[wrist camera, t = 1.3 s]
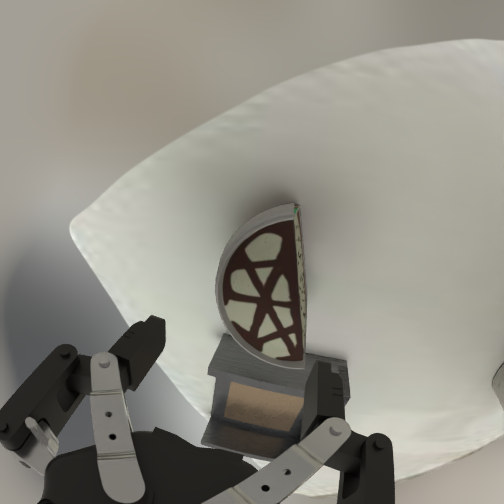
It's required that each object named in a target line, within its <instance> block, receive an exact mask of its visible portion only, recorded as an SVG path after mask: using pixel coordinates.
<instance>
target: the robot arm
mask: <svg viewBox="0 0 504 504" xmlns="http://www.w3.org/2000/svg"><path fill="white" fill-rule="evenodd" d="M165 342H166V330H165V319H162V318H159V317H156V316H153V315H151V316H150V317H149V318H148V319H147V320H146V321H145V322H143V321H139V322H137V323H135V324H133V325H132V326H131V327H130V328H129V329H128V330H127V331H126V332H125V333H124V334H123V336H122V337H121V338H120V339H119V340H118V341H117V342H116V343H115V344H114V345H113V346H112V348H111V349H110V350H109V351H108V352H100V353H97V354H95V355H94V356H93V357H90V356H85V355H80V354H78V352H77V350H76V348H75V347H74V346H72V345H70V344H62V345H60V346H58V347H57V348H55V349H54V350H53V351H52V352H51V354H50V355H49V356H48V357H47V358H46V359H45V360H44V361H43V362H42V363H41V364H40V365H39V366H38V367H37V368H36V370H35V371H34V372H33V373H32V374H31V375H30V376H29V377H28V378H27V379H26V380H25V382H24V383H23V384H22V385H21V386H20V387H19V388H18V390H17V391H16V392H15V393H14V394H13V395H12V397H11V398H10V399H9V400H8V401H7V403H6V404H5V405H4V406H3V407H2V408H1V410H0V442H1V444H2V445H3V446H4V448H5V449H6V450H7V451H9V453H10V454H11V455H12V456H13V457H14V458H16V459H17V460H19V462H21V463H22V464H23V465H24V466H26V467H28V468H32V469H34V470H35V471H37V472H38V473H39V474H41V475H42V476H43V477H44V478H45V479H44V480H45V481H44V490H43V495H42V498H41V500H40V501H39V502H38V503H37V504H280V503H281V502H282V501H283V500H284V499H286V498H287V497H288V496H290V495H291V494H292V493H293V492H294V491H295V490H297V489H298V488H299V487H300V486H301V485H302V484H303V483H305V482H306V481H307V480H308V479H309V478H310V477H311V476H312V475H314V474H315V473H316V472H317V471H318V470H319V469H320V468H321V467H322V466H323V465H325V466H328V467H331V468H333V469H336V470H339V471H340V480H339V490H338V499H337V504H395V482H394V461H393V447H392V442H391V440H390V439H389V438H388V437H387V436H386V435H384V434H381V433H374V434H371V435H370V436H369V437H366V436H363V435H361V434H358V433H355V432H354V431H352V430H351V428H350V426H349V424H348V423H347V422H346V421H345V409H344V397H343V395H344V394H343V382H342V379H341V378H340V376H339V374H338V373H333V372H332V370H331V362H327V361H322V360H316V361H315V363H314V365H313V368H312V370H311V372H310V374H309V377H308V379H307V381H306V385H305V391H304V405H303V418H302V429H301V440H302V441H301V442H300V443H299V444H295V445H293V446H292V447H290V448H289V449H288V450H286V451H285V452H284V453H282V454H281V455H280V456H279V457H277V458H276V459H274V460H273V461H272V462H270V463H269V464H268V465H266V466H265V467H263V468H262V469H261V470H259V471H258V470H257V469H256V468H254V467H253V466H252V465H251V464H249V463H247V462H245V461H243V460H242V459H243V456H244V455H243V454H238V453H234V452H230V451H226V450H223V449H213V448H200V447H196V446H194V445H192V444H190V443H189V442H187V441H185V440H184V439H182V438H180V437H179V436H177V435H175V434H172V433H170V432H168V431H165V430H162V429H159V428H157V427H155V429H154V431H153V432H151V431H136V432H133V429H132V425H131V421H130V417H129V412H128V408H127V403H126V398H125V392H126V390H127V389H130V390H132V391H135V390H136V389H137V387H138V386H139V384H140V383H141V382H142V380H143V379H144V377H145V376H146V374H147V373H148V371H149V370H150V368H151V367H152V365H153V364H154V363H155V361H156V360H157V358H158V357H159V356H160V354H161V353H162V351H163V349H164V347H165ZM492 387H493V389H494V391H495V393H496V395H497V397H498V399H499V401H500V403H501V405H502V408H503V410H504V364H503V365H502V366H501V368H500V369H499V370H498V372H497V374H496V375H495V377H494V380H493V383H492ZM85 395H90V402H91V412H92V421H93V429H94V435H95V442H96V445H92V446H89V447H86V448H82V449H79V450H76V451H72V452H68V453H65V454H61V455H58V456H56V454H57V450H58V447H59V443H58V439H57V436H58V434H59V433H60V431H61V430H62V429H63V427H64V426H65V424H66V423H67V421H68V420H69V418H70V417H71V415H72V414H73V413H74V411H75V410H76V408H77V407H78V405H79V404H80V402H81V401H82V400H83V398H84V397H85Z"/></svg>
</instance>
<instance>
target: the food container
mask: <svg viewBox="0 0 504 504" xmlns="http://www.w3.org/2000/svg"><path fill="white" fill-rule="evenodd" d="M215 294H216V301H217V305H218V310H219V313H220V316H221V319H222V321H223V323H224V325H225V327H226V329H227V330H228V332H229V333H230V335H231V336H232V337H233V339H234V340H235V341H236V342H237V343H238V344H239V345H240V346H241V347H242V348H244V349H245V350H246V351H247V352H249V353H250V354H252V355H253V356H255V357H257V358H258V359H260V360H263V361H265V362H267V363H270V364H273V365H276V366H280V367H284V368H291V369H304V367H305V358H306V356H305V348H306V319H307V287H306V272H305V258H304V246H303V234H302V223H301V213H300V205H295V206H294V203H290V204H284V205H279V206H276V207H273V208H270V209H268V210H265V211H263V212H261V213H259V214H258V215H256V216H254V217H252V218H251V219H250V220H248V221H247V222H246V223H244V224H243V225H242V226H241V227H240V228H239V229H238V230H237V231H236V232H235V233H234V235H233V236H232V237H231V239H230V240H229V242H228V243H227V245H226V246H225V249H224V251H223V253H222V256H221V258H220V262H219V267H218V271H217V276H216V284H215Z"/></svg>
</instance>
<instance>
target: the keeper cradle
mask: <svg viewBox="0 0 504 504" xmlns="http://www.w3.org/2000/svg"><path fill="white" fill-rule="evenodd" d="M305 356H306V358H305V367H304V369H291V368H284V367H280V366H276V365H273V364H270V363H267V362H265V361H263V360H260V359H258V358H257V357H255V356H253V355H252V354H250V353H249V352H247V351H246V350H245V349H244V348H242V347H241V346H240V345H239V344H238V343H237V342H236V341H235V340H234V339H233V337H232V336H231V335H228V334H224V335H223V337H222V339H221V341H220V343H219V346H218V348H217V350H216V352H215V354H214V356H213V358H212V360H211V362H210V364H209V367H208V375H211V376H214V377H216V383H215V390H214V397H213V405H212V412H211V418H210V420H209V423H208V425H207V428H206V430H205V433H204V435H203V437H202V440H201V444H202V445H205V446H208V447H212V448H215V449H223V450H226V451H230V452H234V453H238V454H243V455H244V456H246V457H250V458H255V459H260V460H265V461H270V462H272V461H273V460H274V459H276V458H277V457H279V456H280V455H281V454H282V453H284V452H285V451H286V450H288V449H289V448H290V447H292V446H293V445H295V444H299V443H300V442H301V441H302V440H301V429H302V418H303V405H304V391H305V385H306V381H307V379H308V377H309V374H310V372H311V370H312V368H313V365H314V363H315V361H316V360H322V361H327V362H331V370H332V372H333V373H338V374H339V376H340V378H341V379H342V382H343V394H344V395H343V397H344V407H345V405H346V404H347V402H348V401H349V399H350V398H351V397H350V387H349V377H348V368H347V361H344V360H338V359H333V358H327V357H322V356H317V355H312V354H307V353H305Z"/></svg>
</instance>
